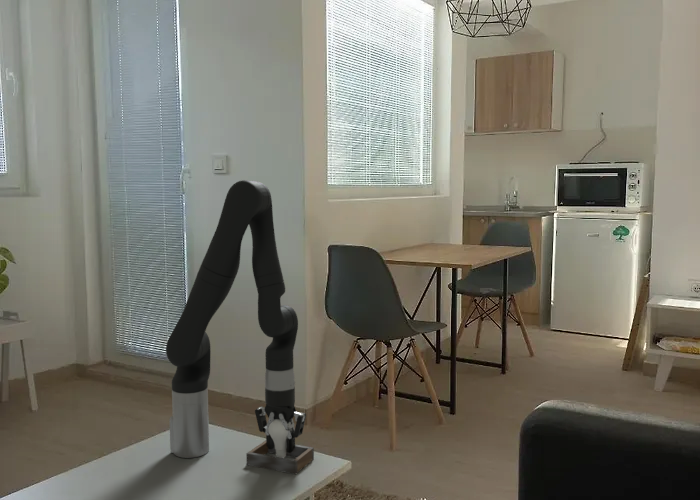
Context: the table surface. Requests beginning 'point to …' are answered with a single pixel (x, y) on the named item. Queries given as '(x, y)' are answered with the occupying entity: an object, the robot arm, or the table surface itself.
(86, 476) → the table surface
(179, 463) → the table surface
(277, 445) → the lightbulb
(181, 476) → the table surface
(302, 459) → the brown wooden shallow box
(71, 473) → the table surface
